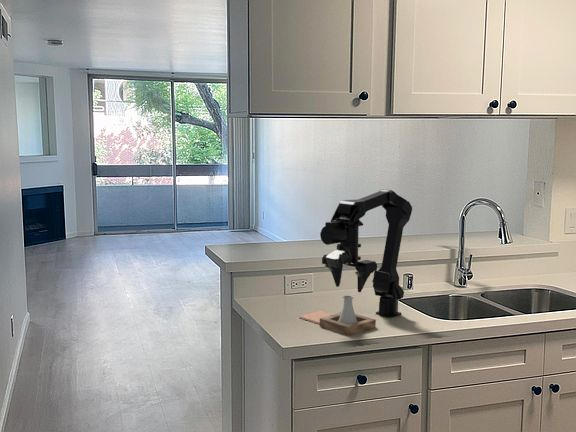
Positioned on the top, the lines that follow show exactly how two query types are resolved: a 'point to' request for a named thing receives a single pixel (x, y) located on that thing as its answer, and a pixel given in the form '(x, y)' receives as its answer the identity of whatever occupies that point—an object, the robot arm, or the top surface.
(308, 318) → the terracotta coaster
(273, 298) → the top surface
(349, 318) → the flask
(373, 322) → the walnut holder
